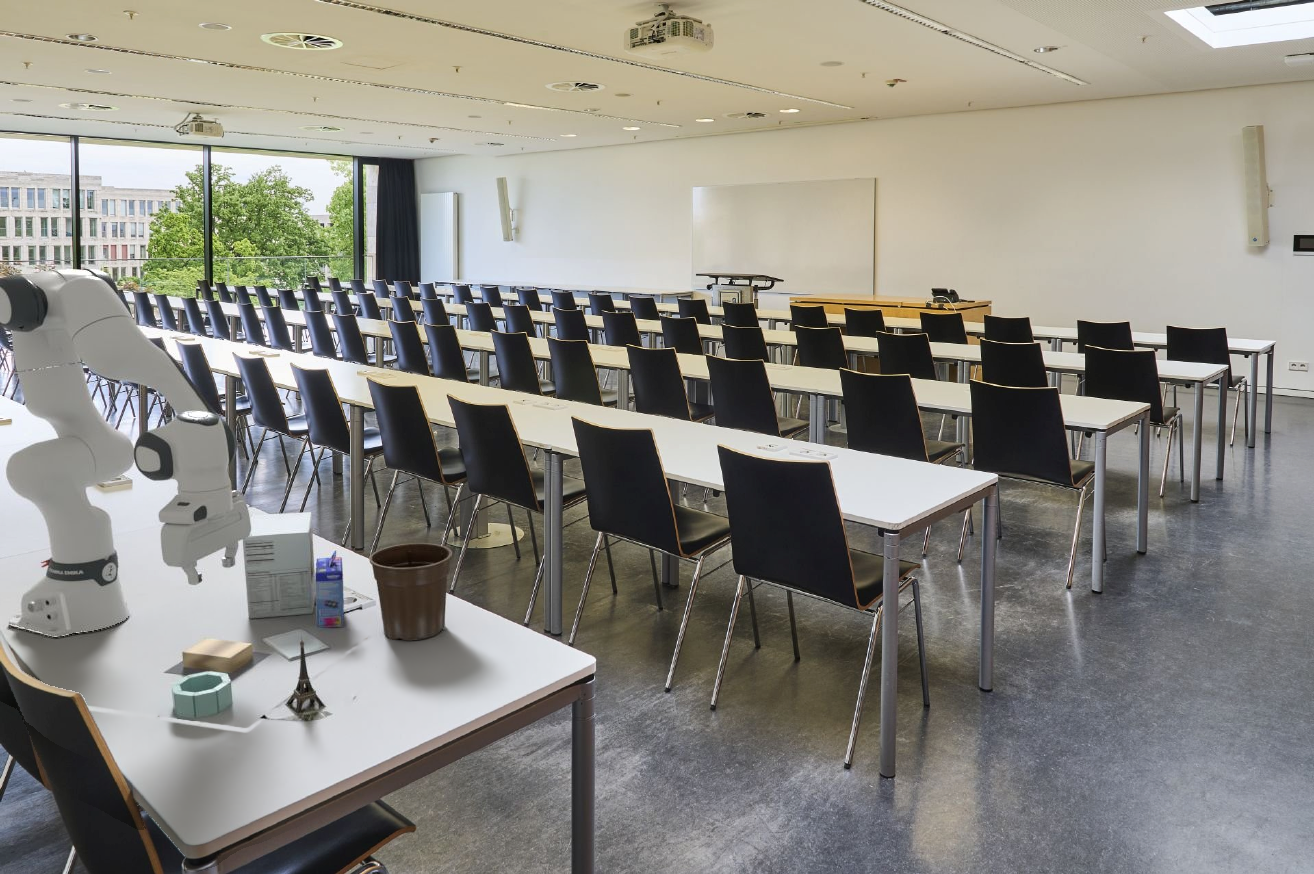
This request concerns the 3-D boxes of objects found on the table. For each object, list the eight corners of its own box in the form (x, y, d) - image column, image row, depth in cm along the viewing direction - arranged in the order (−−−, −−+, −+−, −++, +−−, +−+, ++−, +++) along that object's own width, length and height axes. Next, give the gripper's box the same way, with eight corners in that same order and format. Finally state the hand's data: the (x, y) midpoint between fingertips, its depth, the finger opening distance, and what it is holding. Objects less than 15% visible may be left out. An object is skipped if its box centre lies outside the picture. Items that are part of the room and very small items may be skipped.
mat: (164, 675, 180) (163, 672, 180) (207, 648, 192) (207, 645, 192) (231, 684, 177) (231, 680, 177) (271, 656, 189) (271, 653, 189)
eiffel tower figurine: (246, 721, 165) (241, 646, 162) (275, 694, 175) (270, 623, 172) (333, 726, 164) (329, 651, 161) (357, 698, 174) (353, 627, 171)
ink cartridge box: (345, 627, 203) (341, 560, 200) (316, 630, 202) (312, 562, 199) (344, 609, 212) (341, 545, 209) (317, 612, 211) (314, 547, 208)
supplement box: (314, 614, 210) (309, 532, 206) (247, 620, 206) (241, 537, 202) (317, 586, 226) (312, 510, 222) (254, 591, 222) (249, 514, 218)
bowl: (162, 716, 165) (160, 691, 164) (198, 693, 174) (196, 669, 173) (209, 723, 163) (206, 697, 162) (242, 699, 172) (240, 675, 171)
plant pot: (359, 627, 203) (355, 552, 200) (429, 608, 214) (427, 537, 210) (395, 652, 191) (392, 573, 188) (468, 631, 202) (467, 556, 198)
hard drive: (330, 646, 191) (302, 627, 200) (289, 658, 186) (262, 638, 194) (330, 654, 192) (302, 635, 200) (289, 666, 186) (262, 646, 195)
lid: (183, 667, 182) (182, 651, 182) (206, 652, 188) (205, 638, 188) (231, 673, 180) (230, 657, 180) (253, 658, 186) (252, 643, 186)
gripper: (227, 486, 189) (233, 555, 191) (151, 515, 169) (159, 592, 172) (256, 488, 187) (262, 558, 190) (183, 518, 168) (190, 595, 171)
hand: (212, 574), depth 181 cm, fingers open, 8 cm apart
